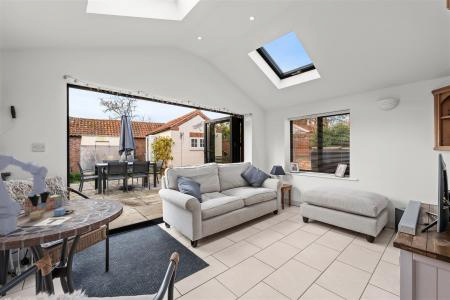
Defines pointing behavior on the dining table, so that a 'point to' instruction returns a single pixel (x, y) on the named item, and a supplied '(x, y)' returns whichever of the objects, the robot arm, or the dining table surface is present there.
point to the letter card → (53, 221)
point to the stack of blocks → (43, 204)
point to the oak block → (37, 215)
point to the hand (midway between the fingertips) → (39, 204)
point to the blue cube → (59, 211)
